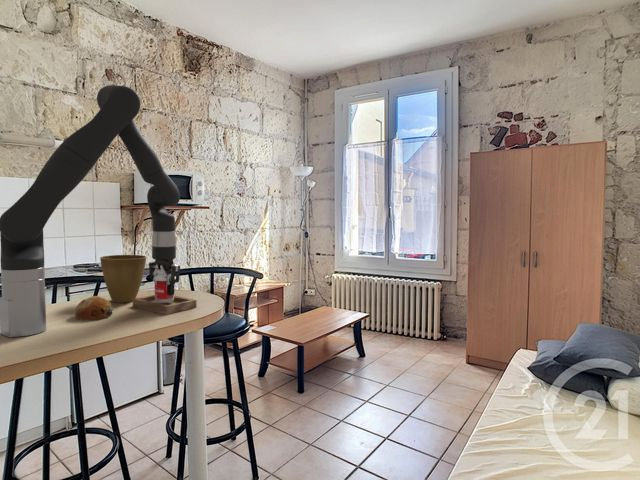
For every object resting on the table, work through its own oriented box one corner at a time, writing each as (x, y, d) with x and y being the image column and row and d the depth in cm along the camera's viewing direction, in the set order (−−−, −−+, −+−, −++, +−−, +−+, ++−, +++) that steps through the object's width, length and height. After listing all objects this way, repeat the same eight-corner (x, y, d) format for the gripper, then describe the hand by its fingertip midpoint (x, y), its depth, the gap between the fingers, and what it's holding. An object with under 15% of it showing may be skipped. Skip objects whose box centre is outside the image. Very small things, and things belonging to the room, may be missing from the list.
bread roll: (103, 322, 130) (96, 299, 131) (123, 312, 125) (115, 288, 126) (73, 330, 121) (65, 305, 122) (93, 320, 117) (85, 294, 117)
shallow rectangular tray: (165, 314, 127) (165, 306, 127) (132, 306, 137) (132, 298, 136) (196, 307, 137) (196, 300, 137) (163, 299, 147) (163, 293, 146)
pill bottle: (151, 301, 136) (150, 269, 135) (167, 298, 141) (166, 267, 140) (161, 304, 132) (161, 271, 131) (178, 301, 137) (177, 269, 136)
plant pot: (130, 306, 136) (129, 259, 135) (91, 304, 138) (90, 258, 137) (155, 297, 151) (154, 255, 149) (119, 295, 153) (118, 253, 152)
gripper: (187, 245, 134) (187, 294, 135) (160, 242, 142) (161, 289, 143) (167, 246, 128) (168, 298, 129) (141, 244, 136) (141, 292, 137)
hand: (164, 293), depth 136 cm, fingers closed on pill bottle, 6 cm apart
